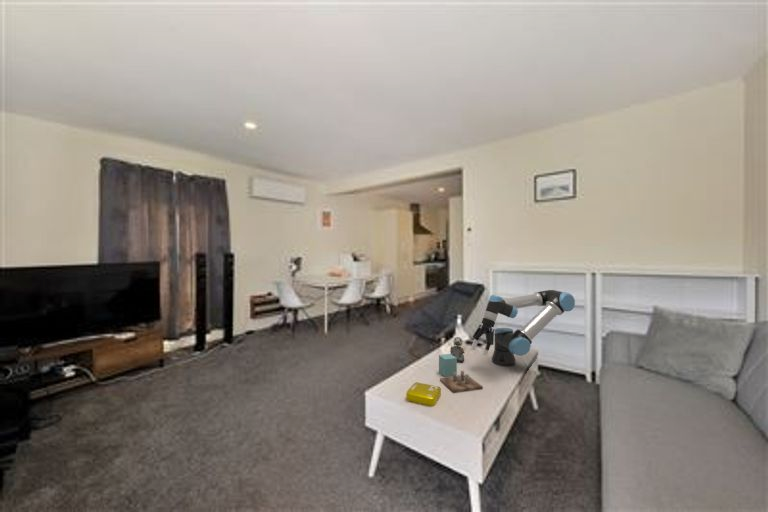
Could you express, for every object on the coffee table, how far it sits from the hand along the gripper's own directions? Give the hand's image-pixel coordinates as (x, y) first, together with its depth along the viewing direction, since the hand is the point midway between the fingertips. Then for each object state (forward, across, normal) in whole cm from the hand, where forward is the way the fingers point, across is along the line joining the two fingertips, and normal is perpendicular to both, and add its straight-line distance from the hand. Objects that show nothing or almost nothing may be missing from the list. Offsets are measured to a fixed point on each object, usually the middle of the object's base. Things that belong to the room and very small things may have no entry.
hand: (478, 352), depth 195 cm
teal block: (+19, -6, -11) cm, 23 cm away
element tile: (+31, +19, -34) cm, 50 cm away
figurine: (+11, -27, +4) cm, 30 cm away
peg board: (+20, +10, -10) cm, 25 cm away
